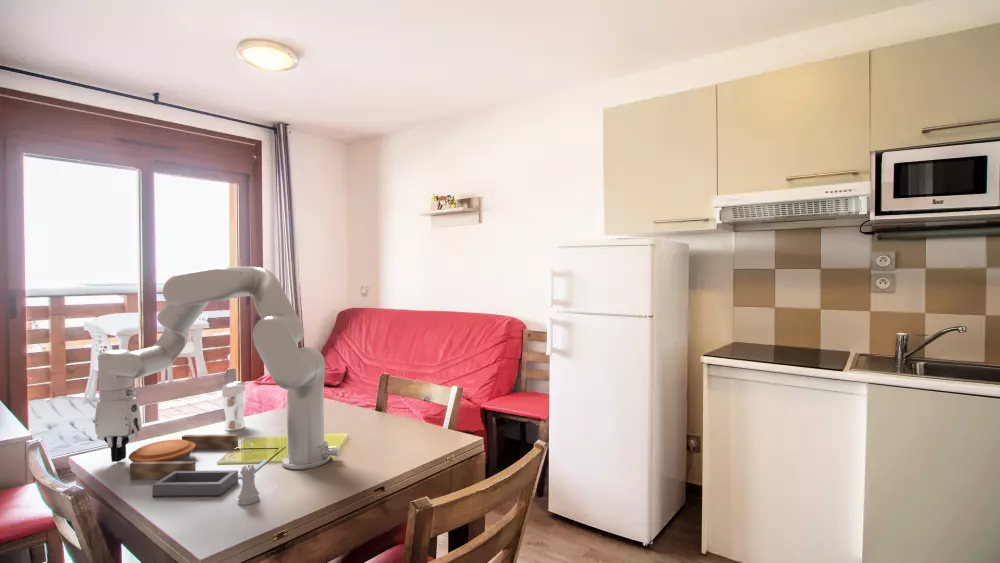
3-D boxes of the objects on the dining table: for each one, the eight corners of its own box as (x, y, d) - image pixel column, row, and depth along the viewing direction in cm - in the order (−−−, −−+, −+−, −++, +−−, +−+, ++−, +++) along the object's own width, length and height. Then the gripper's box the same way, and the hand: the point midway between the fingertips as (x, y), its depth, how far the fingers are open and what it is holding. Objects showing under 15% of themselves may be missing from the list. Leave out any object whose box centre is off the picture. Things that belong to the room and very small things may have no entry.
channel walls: (238, 447, 152) (237, 434, 152) (192, 478, 129) (191, 463, 129) (185, 448, 152) (184, 434, 152) (130, 479, 129) (129, 464, 129)
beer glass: (218, 430, 169) (217, 385, 168) (236, 423, 175) (235, 380, 175) (233, 432, 166) (232, 387, 166) (251, 426, 172) (249, 382, 172)
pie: (149, 454, 147) (149, 437, 147) (205, 451, 149) (205, 434, 149) (115, 476, 132) (114, 457, 132) (178, 472, 134) (177, 454, 134)
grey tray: (238, 482, 127) (237, 470, 127) (220, 496, 119) (220, 484, 119) (174, 482, 127) (174, 471, 127) (152, 497, 119) (152, 484, 119)
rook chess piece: (242, 497, 118) (242, 463, 118) (262, 496, 119) (261, 462, 119) (234, 506, 114) (233, 471, 114) (255, 505, 114) (254, 470, 114)
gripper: (152, 391, 144) (154, 454, 144) (100, 391, 144) (102, 455, 144) (133, 397, 136) (135, 465, 137) (78, 398, 136) (80, 465, 137)
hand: (118, 459), depth 141 cm, fingers closed
